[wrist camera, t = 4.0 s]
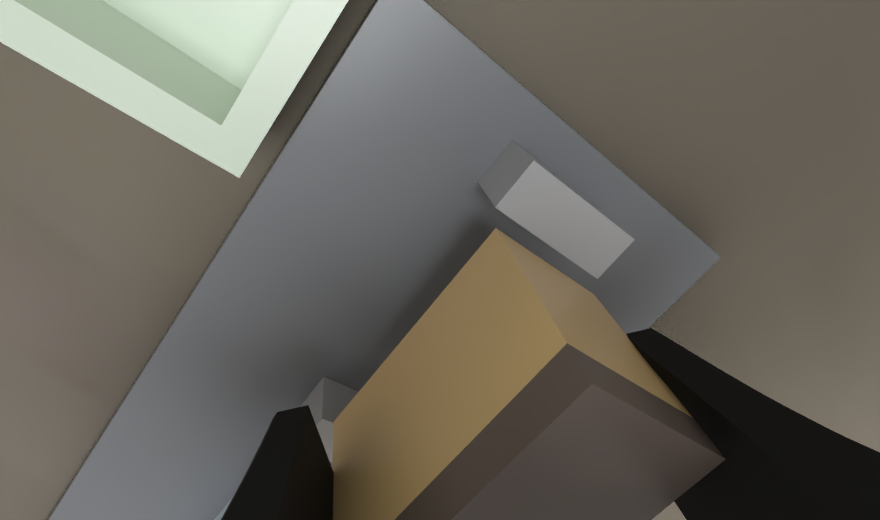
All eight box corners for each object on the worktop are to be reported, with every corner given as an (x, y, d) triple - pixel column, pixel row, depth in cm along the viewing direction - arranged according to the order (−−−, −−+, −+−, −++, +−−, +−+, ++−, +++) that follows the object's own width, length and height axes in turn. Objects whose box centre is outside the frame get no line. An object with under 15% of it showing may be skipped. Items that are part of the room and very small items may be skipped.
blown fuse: (593, 294, 11) (725, 459, 7) (433, 461, 13) (471, 665, 9) (495, 227, 10) (591, 384, 6) (333, 422, 12) (329, 637, 8)
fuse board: (709, 248, 14) (760, 285, 13) (303, 649, 21) (300, 710, 19) (391, -25, 10) (402, -26, 8) (-3, 598, 16) (-44, 672, 14)
